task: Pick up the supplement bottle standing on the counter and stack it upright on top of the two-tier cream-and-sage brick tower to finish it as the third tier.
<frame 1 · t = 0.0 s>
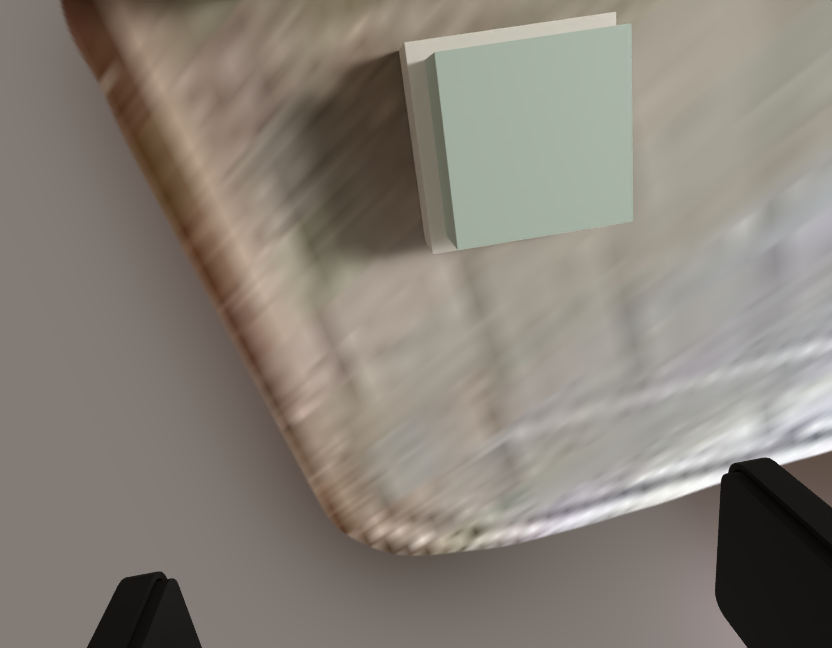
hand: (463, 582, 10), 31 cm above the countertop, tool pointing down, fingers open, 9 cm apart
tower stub: (502, 137, 38), on the countertop
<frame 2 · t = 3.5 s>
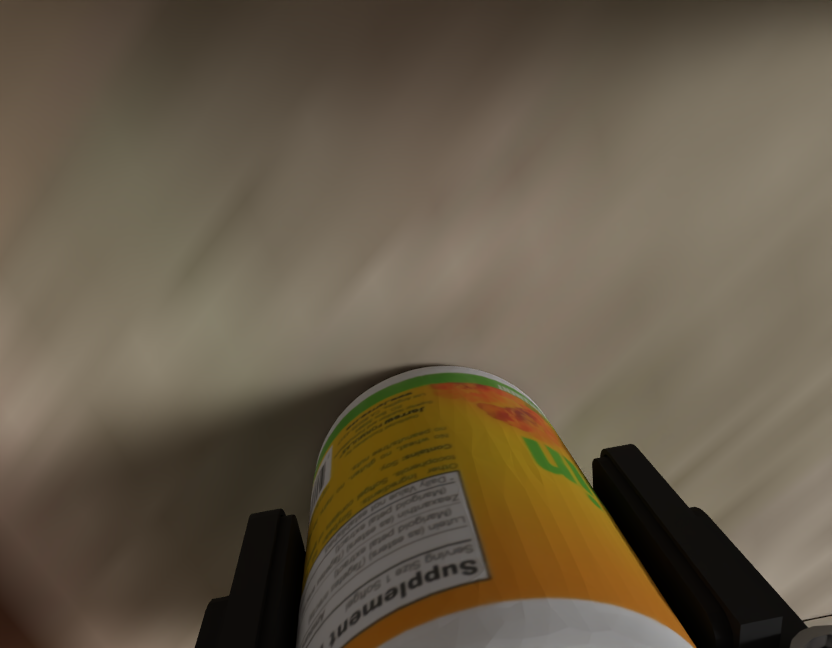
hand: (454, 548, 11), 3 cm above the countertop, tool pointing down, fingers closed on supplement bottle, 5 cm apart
supplement bottle: (435, 464, 13), on the countertop, touching gripper
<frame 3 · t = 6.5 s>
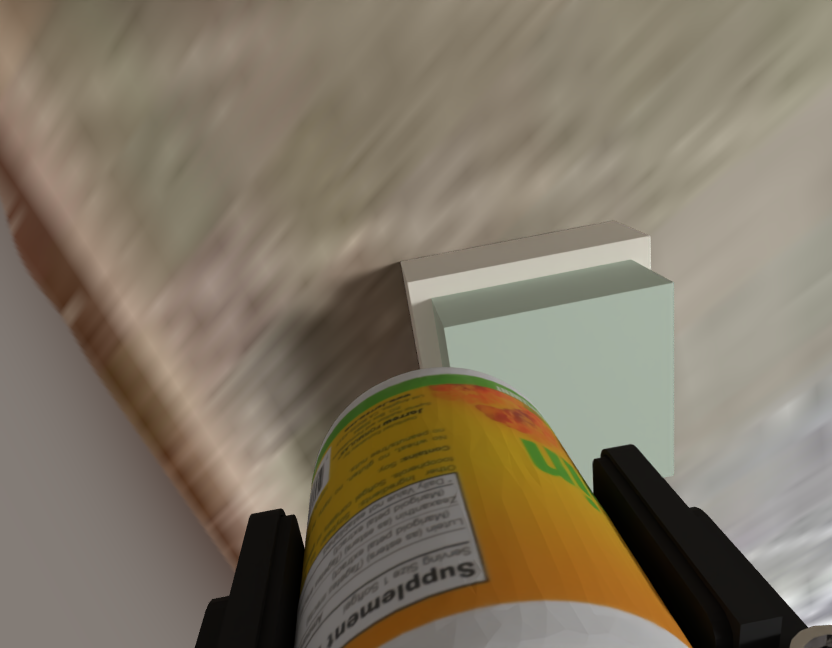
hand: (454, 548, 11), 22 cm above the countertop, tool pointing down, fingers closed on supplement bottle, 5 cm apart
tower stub: (519, 340, 34), on the countertop
supplement bottle: (434, 465, 13), point 19 cm above the countertop, touching gripper
when the fingers open (12 cm above the countertop, at t = 9.3 s): supplement bottle drops 1 cm, resting on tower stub.
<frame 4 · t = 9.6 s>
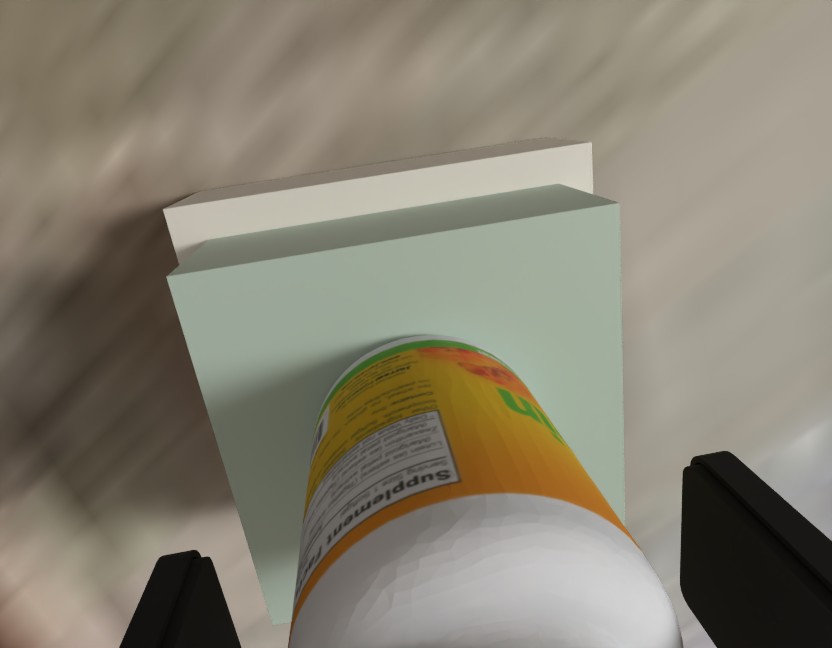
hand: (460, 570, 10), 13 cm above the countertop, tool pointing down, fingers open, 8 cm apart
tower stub: (401, 326, 22), on the countertop
supplement bottle: (424, 428, 14), point 8 cm above the countertop, touching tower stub
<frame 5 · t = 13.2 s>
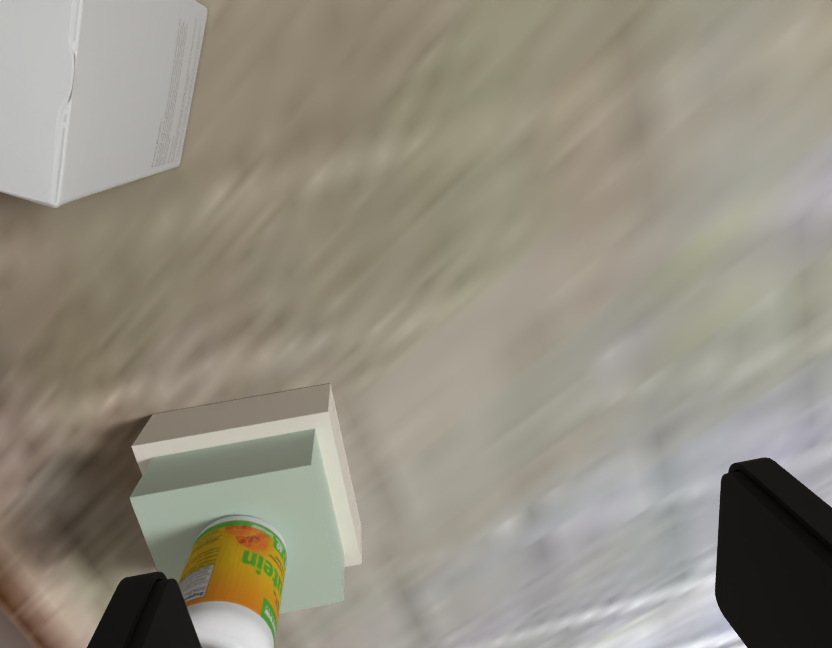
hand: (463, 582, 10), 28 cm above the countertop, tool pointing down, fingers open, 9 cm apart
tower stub: (262, 473, 41), on the countertop
supplement box: (112, 66, 32), on the countertop
supplement bottle: (241, 548, 34), point 8 cm above the countertop, touching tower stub
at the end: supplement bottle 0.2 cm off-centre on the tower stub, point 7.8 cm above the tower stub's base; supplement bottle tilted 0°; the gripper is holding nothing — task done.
